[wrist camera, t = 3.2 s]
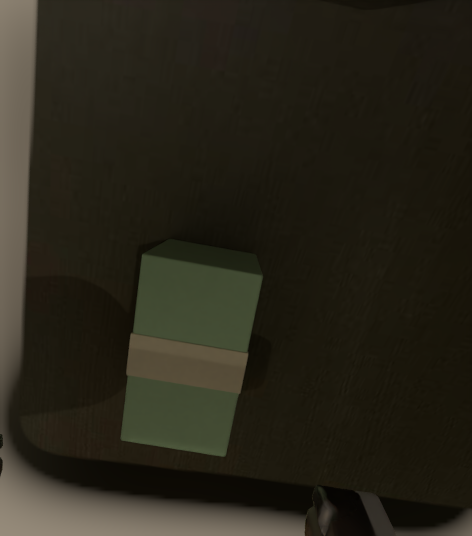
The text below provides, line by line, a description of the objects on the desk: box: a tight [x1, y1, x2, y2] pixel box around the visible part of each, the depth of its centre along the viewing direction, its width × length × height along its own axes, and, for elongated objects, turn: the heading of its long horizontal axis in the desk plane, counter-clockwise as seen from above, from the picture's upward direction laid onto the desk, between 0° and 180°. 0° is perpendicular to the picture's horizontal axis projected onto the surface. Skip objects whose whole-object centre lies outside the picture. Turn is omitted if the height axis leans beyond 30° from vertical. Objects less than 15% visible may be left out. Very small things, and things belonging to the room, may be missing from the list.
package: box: [121, 239, 263, 457], centre depth 16 cm, size 5×9×5 cm, turn 170°
